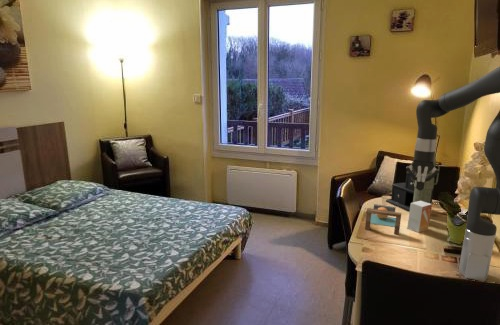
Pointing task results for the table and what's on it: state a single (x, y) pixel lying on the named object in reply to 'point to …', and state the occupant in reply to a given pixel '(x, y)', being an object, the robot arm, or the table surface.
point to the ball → (382, 215)
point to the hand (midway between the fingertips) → (419, 189)
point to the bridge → (383, 212)
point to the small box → (419, 216)
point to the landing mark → (383, 221)
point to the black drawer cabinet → (404, 193)
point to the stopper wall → (385, 207)
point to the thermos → (425, 187)
